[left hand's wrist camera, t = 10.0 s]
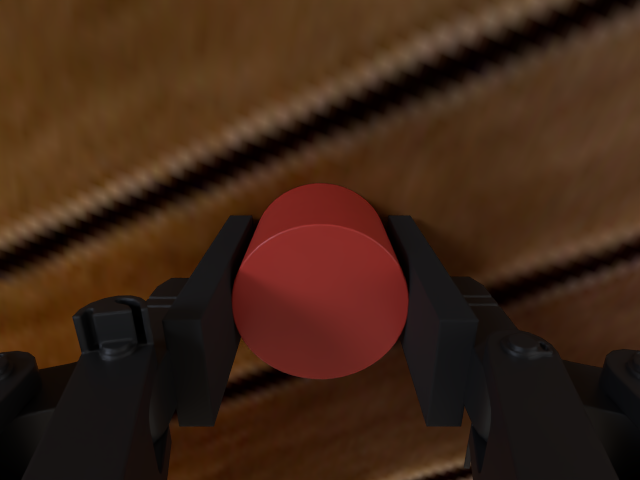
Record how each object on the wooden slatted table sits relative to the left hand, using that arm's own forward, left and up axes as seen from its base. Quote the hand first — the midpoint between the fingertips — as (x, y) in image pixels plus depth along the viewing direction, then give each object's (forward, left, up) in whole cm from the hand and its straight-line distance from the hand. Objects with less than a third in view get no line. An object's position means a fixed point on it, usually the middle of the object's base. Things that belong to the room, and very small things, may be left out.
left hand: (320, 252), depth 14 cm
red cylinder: (0, 0, 0) cm, 0 cm away
